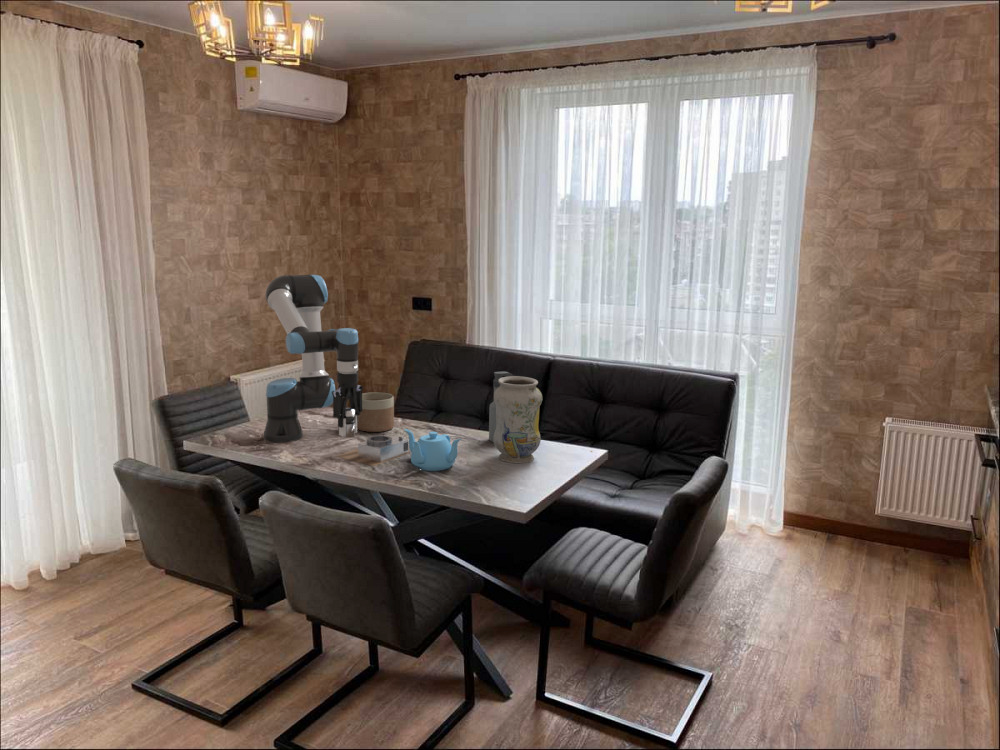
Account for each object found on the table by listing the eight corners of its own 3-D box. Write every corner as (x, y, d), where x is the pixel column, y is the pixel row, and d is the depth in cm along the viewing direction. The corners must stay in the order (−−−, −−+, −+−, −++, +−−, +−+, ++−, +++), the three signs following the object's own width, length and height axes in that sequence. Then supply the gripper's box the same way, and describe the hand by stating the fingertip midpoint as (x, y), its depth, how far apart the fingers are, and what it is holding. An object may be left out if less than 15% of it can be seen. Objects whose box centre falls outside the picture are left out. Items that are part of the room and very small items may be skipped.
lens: (338, 435, 275) (337, 408, 273) (348, 432, 280) (347, 406, 277) (348, 438, 273) (348, 411, 270) (358, 435, 277) (358, 408, 275)
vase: (545, 465, 274) (547, 384, 268) (496, 466, 271) (498, 385, 265) (534, 450, 291) (537, 374, 285) (489, 452, 288) (490, 375, 282)
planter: (390, 433, 311) (390, 401, 309) (352, 432, 311) (352, 400, 309) (396, 423, 327) (396, 392, 324) (360, 422, 327) (359, 391, 324)
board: (335, 459, 276) (335, 456, 275) (373, 446, 292) (373, 443, 292) (374, 469, 265) (373, 465, 265) (410, 455, 282) (410, 452, 281)
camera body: (357, 456, 275) (357, 439, 274) (385, 447, 288) (385, 430, 286) (380, 462, 269) (380, 444, 268) (408, 452, 282) (408, 435, 280)
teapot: (412, 475, 260) (412, 440, 258) (404, 459, 277) (404, 427, 275) (460, 471, 264) (461, 438, 262) (450, 456, 282) (450, 424, 280)
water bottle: (507, 436, 311) (508, 369, 306) (518, 442, 302) (519, 373, 297) (485, 438, 307) (486, 371, 301) (495, 444, 298) (496, 375, 293)
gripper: (336, 377, 262) (337, 441, 267) (372, 369, 276) (372, 430, 281) (321, 374, 266) (322, 437, 271) (357, 366, 280) (358, 426, 285)
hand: (348, 433), depth 276 cm, fingers closed on lens, 5 cm apart
